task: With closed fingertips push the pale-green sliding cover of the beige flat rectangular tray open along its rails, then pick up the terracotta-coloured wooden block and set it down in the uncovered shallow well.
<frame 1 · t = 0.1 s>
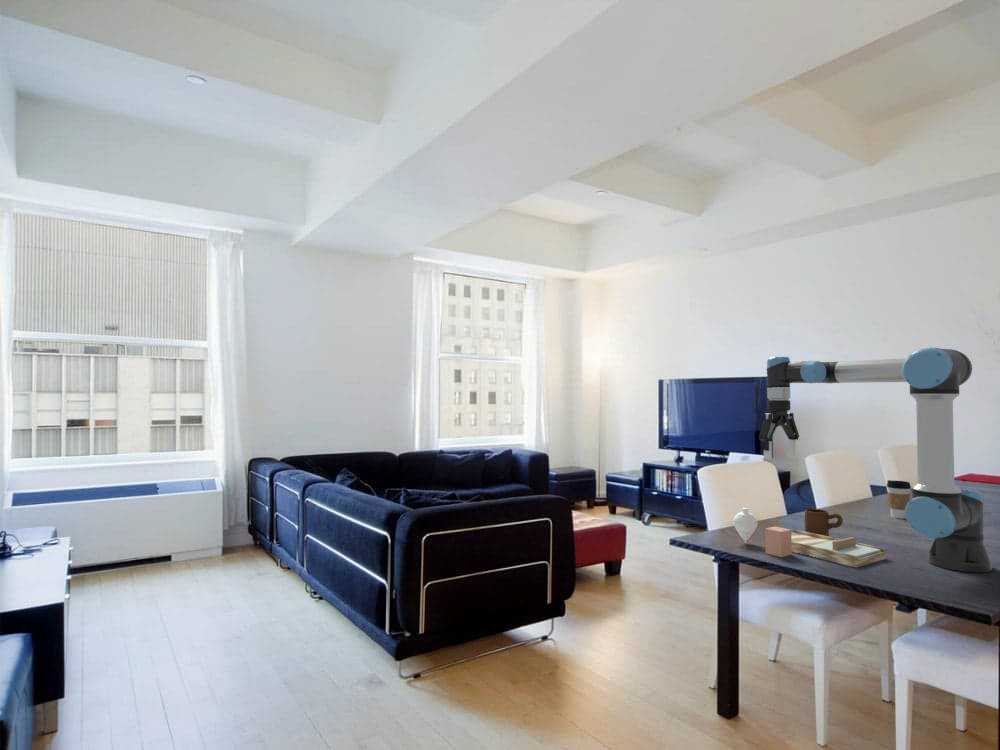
hand: (779, 458, 213), 28 cm above the table, fingers open, 13 cm apart
mug: (823, 538, 210), on the table
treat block: (778, 554, 190), on the table
beige flat rectangular tray: (844, 556, 186), on the table
spinning top: (745, 543, 203), on the table
lid: (844, 544, 187), point 4 cm above the table, slide at 0.0 cm
coffee cup: (899, 517, 244), on the table
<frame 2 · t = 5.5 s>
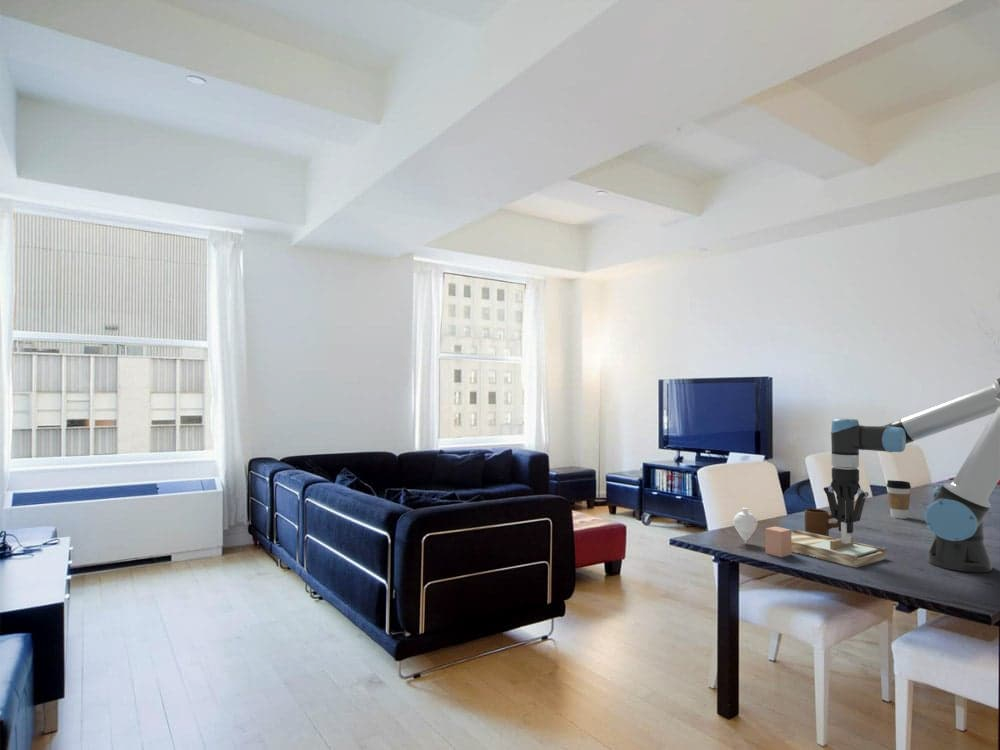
hand: (845, 542, 186), 5 cm above the table, fingers closed
lid: (841, 544, 187), point 4 cm above the table, slide at 0.8 cm, touching gripper
everything else where it was.
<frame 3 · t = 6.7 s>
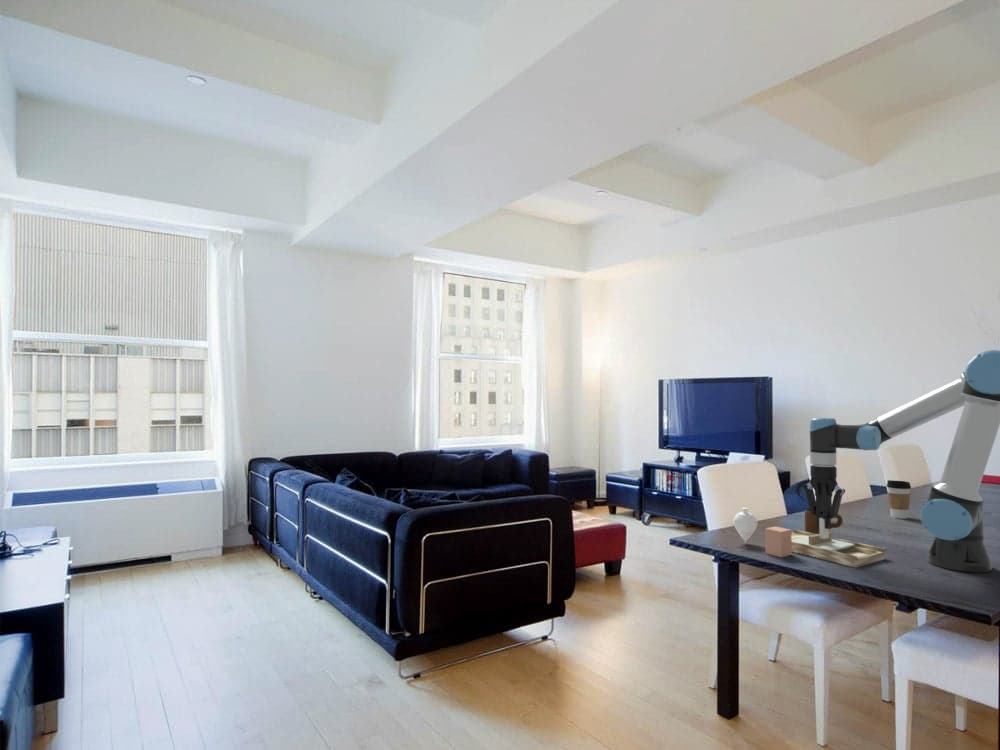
hand: (824, 538, 192), 5 cm above the table, fingers closed
lid: (820, 539, 193), point 4 cm above the table, slide at 7.7 cm, touching gripper
everything else where it was.
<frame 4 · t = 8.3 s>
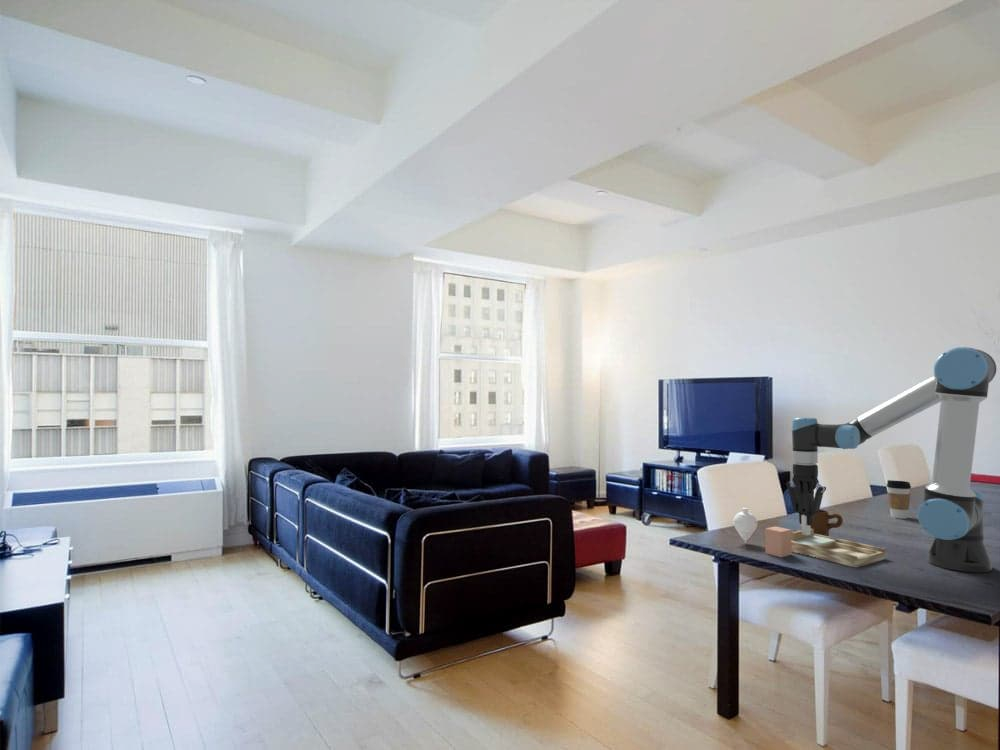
hand: (806, 534, 197), 4 cm above the table, fingers closed
lid: (802, 535, 198), point 4 cm above the table, slide at 13.8 cm, touching gripper
everything else where it was.
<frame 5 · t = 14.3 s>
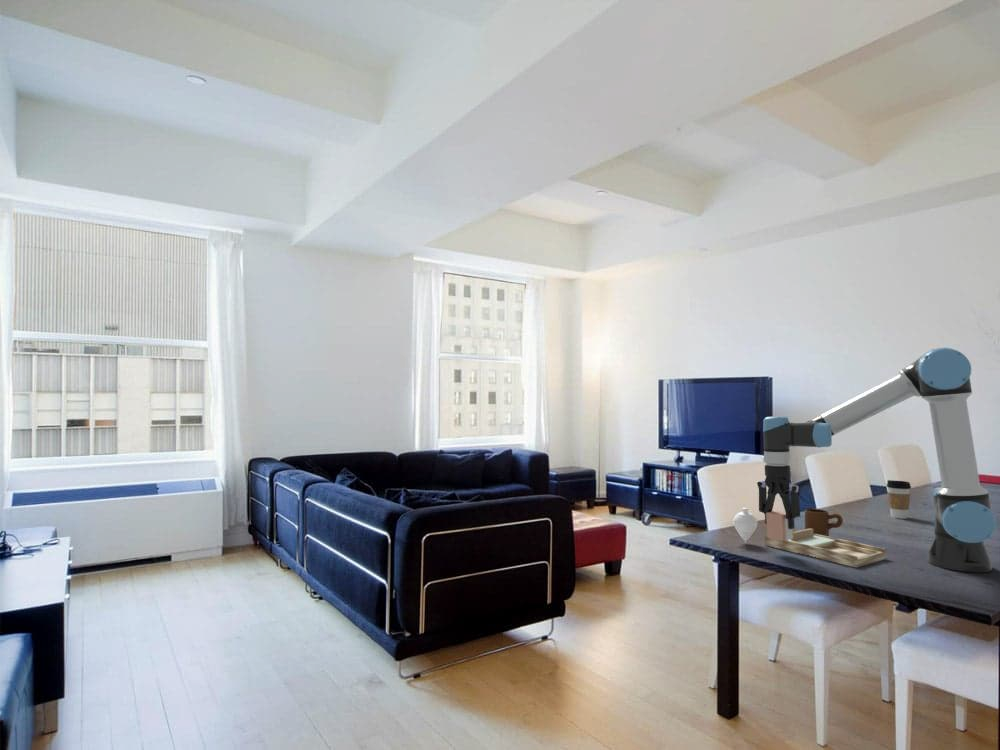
hand: (780, 536, 190), 6 cm above the table, fingers closed on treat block, 5 cm apart
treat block: (780, 538, 190), point 5 cm above the table, touching gripper
lid: (802, 535, 198), point 4 cm above the table, slide at 13.9 cm
everything else where it was.
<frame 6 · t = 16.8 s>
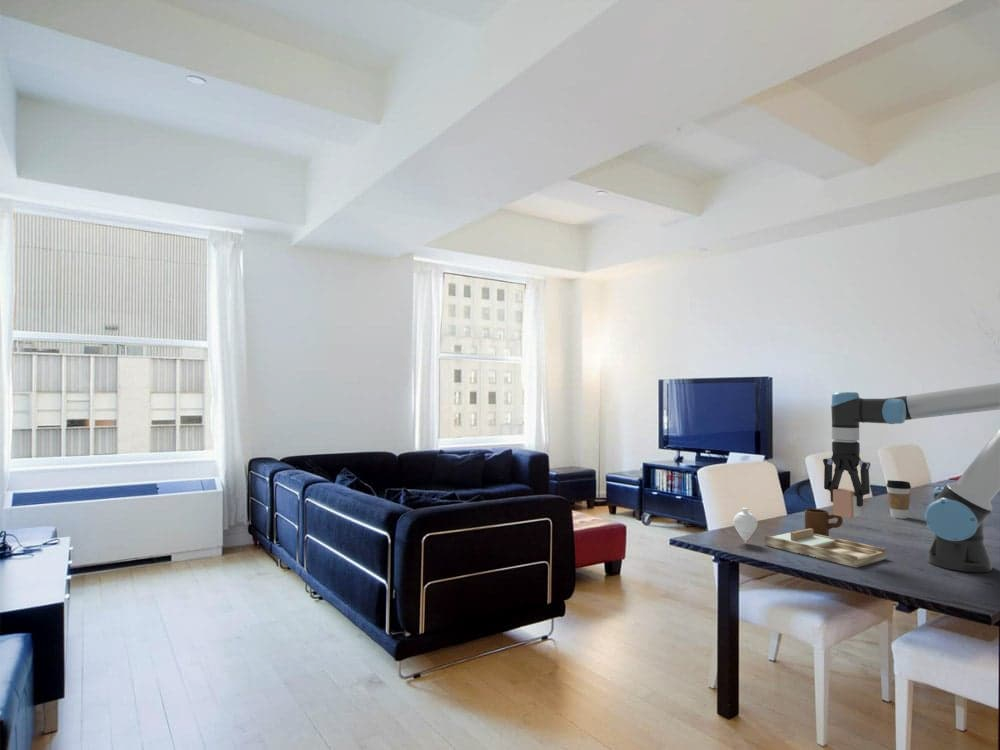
hand: (846, 514, 186), 13 cm above the table, fingers closed on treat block, 5 cm apart
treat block: (846, 515, 186), point 13 cm above the table, touching gripper
everything else where it was.
when the fingers open (1 cm above the table, at t = 19.7 s): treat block stays where it is, resting on beige flat rectangular tray.
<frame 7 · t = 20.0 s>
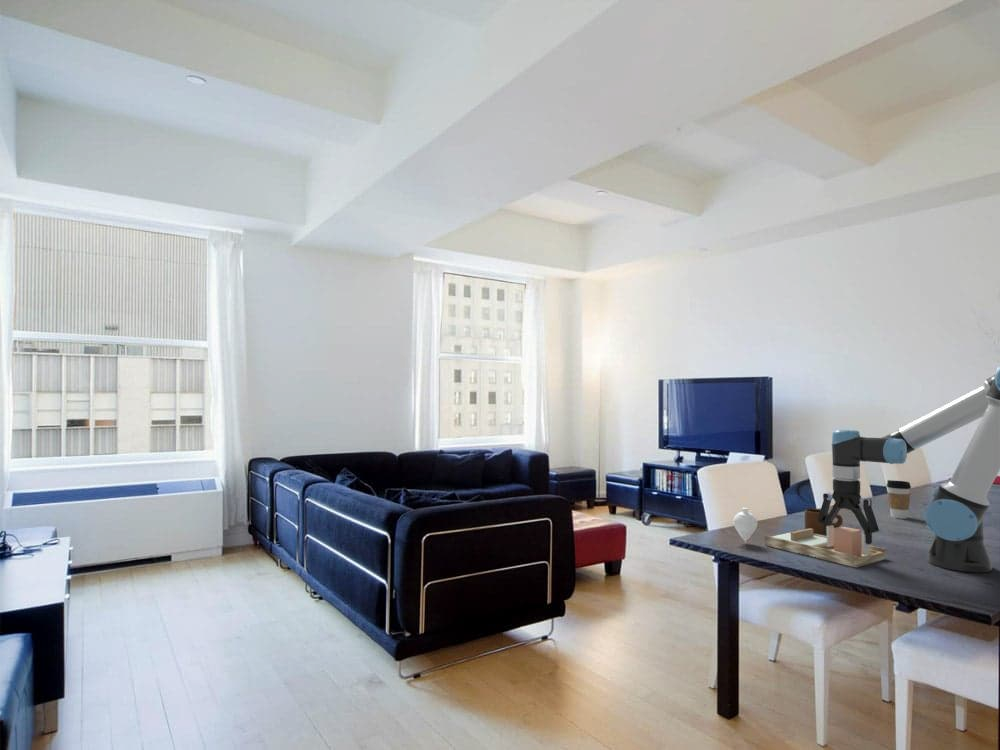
hand: (847, 550, 186), 2 cm above the table, fingers open, 10 cm apart
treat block: (847, 555, 186), point 1 cm above the table, touching beige flat rectangular tray
everything else where it was.
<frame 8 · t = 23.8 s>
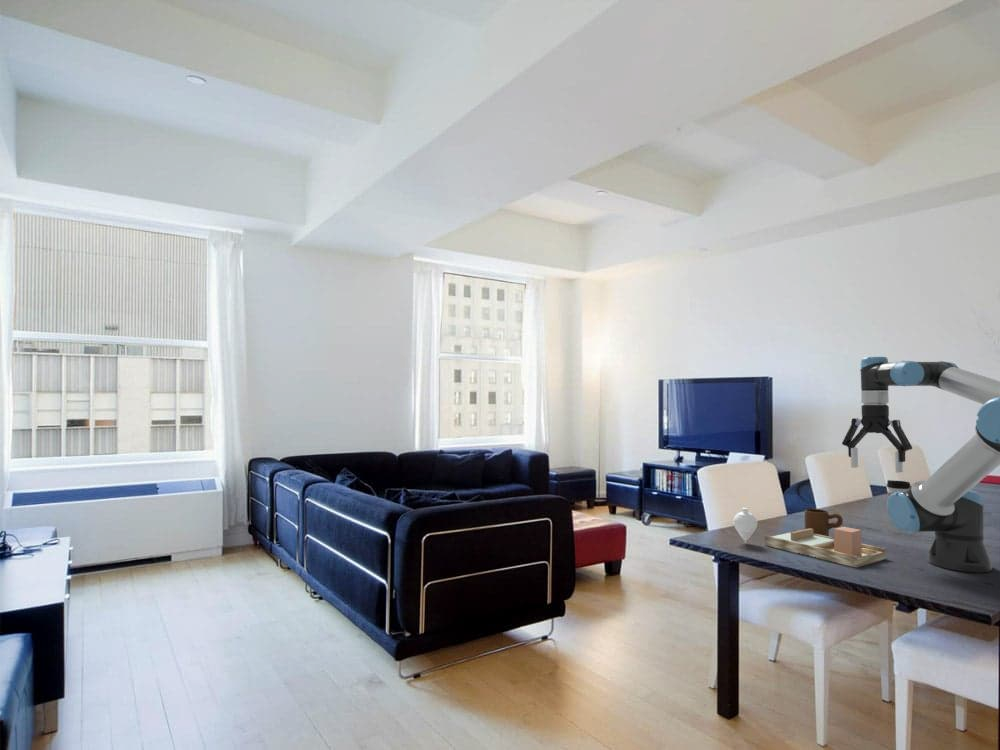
hand: (876, 469, 192), 27 cm above the table, fingers open, 13 cm apart
nothing on the table moved.
at the end: lid slide at 13.9 cm; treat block inside the target area on the beige flat rectangular tray (1.0 cm from its centre), point 0.8 cm above the beige flat rectangular tray's base; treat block tilted 0° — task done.
